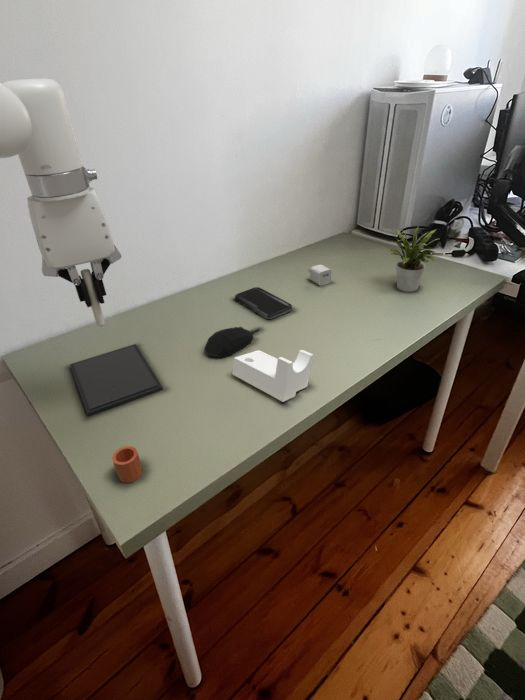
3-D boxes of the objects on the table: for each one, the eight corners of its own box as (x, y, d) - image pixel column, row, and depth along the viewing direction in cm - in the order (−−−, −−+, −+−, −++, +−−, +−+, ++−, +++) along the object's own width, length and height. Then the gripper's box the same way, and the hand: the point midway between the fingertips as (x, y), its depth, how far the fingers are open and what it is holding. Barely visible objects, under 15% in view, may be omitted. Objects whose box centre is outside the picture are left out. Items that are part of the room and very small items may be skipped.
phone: (257, 286, 116) (293, 305, 106) (257, 290, 117) (293, 309, 106) (233, 295, 112) (268, 316, 102) (233, 299, 113) (268, 320, 103)
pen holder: (122, 486, 64) (115, 468, 62) (115, 470, 67) (109, 452, 64) (145, 476, 65) (140, 458, 63) (138, 460, 68) (133, 442, 66)
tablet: (88, 416, 77) (86, 412, 77) (70, 367, 91) (69, 363, 90) (163, 389, 83) (162, 385, 82) (136, 346, 96) (135, 343, 96)
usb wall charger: (319, 286, 117) (319, 272, 115) (304, 277, 122) (304, 264, 120) (331, 282, 119) (331, 268, 116) (316, 274, 124) (316, 260, 122)
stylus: (98, 329, 72) (81, 273, 66) (96, 325, 73) (79, 270, 67) (106, 326, 72) (90, 271, 67) (105, 323, 73) (88, 268, 68)
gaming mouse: (268, 334, 98) (267, 319, 95) (217, 362, 89) (215, 346, 87) (249, 325, 101) (248, 310, 99) (199, 351, 93) (196, 335, 91)
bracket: (306, 391, 82) (313, 354, 79) (282, 401, 77) (289, 363, 74) (256, 365, 89) (261, 331, 86) (232, 374, 84) (236, 338, 81)
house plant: (373, 298, 110) (380, 235, 101) (375, 275, 121) (381, 217, 112) (433, 301, 107) (445, 237, 98) (429, 278, 118) (440, 218, 109)
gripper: (109, 170, 66) (135, 282, 76) (-5, 188, 60) (40, 306, 70) (121, 179, 60) (147, 298, 70) (-3, 199, 54) (46, 325, 64)
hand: (94, 301), depth 70 cm, fingers closed on stylus, 1 cm apart
